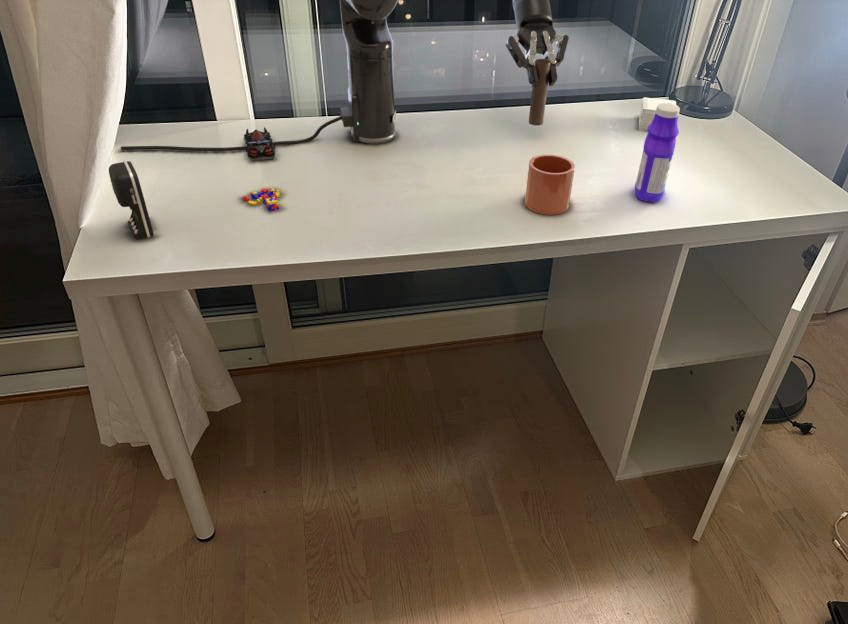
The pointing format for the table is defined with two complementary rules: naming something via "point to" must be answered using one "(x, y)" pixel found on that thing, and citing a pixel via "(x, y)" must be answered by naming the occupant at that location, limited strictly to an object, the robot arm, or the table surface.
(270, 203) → the building blocks
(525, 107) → the table surface
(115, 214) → the table surface
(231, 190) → the table surface
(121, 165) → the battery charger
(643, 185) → the bottle
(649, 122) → the small box
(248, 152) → the toy car
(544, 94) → the dowel
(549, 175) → the holder
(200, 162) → the table surface
